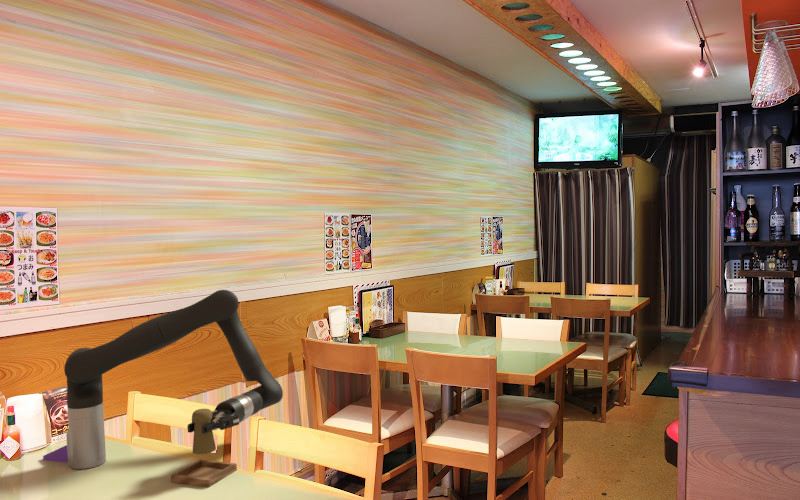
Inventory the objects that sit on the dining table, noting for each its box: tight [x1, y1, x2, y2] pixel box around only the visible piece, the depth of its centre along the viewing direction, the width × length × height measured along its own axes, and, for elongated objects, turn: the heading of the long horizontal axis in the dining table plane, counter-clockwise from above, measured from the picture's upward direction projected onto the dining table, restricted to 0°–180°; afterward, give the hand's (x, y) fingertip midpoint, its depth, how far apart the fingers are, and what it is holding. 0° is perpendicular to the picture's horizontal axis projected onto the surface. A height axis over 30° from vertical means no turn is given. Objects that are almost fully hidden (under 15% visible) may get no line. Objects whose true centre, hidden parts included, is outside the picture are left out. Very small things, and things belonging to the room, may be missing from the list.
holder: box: [170, 459, 238, 488], centre depth 168 cm, size 12×12×2 cm
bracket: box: [42, 444, 68, 464], centre depth 187 cm, size 12×7×7 cm, turn 71°
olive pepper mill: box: [191, 408, 217, 455], centre depth 168 cm, size 6×6×11 cm
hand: (196, 429), depth 165 cm, fingers closed on olive pepper mill, 4 cm apart
